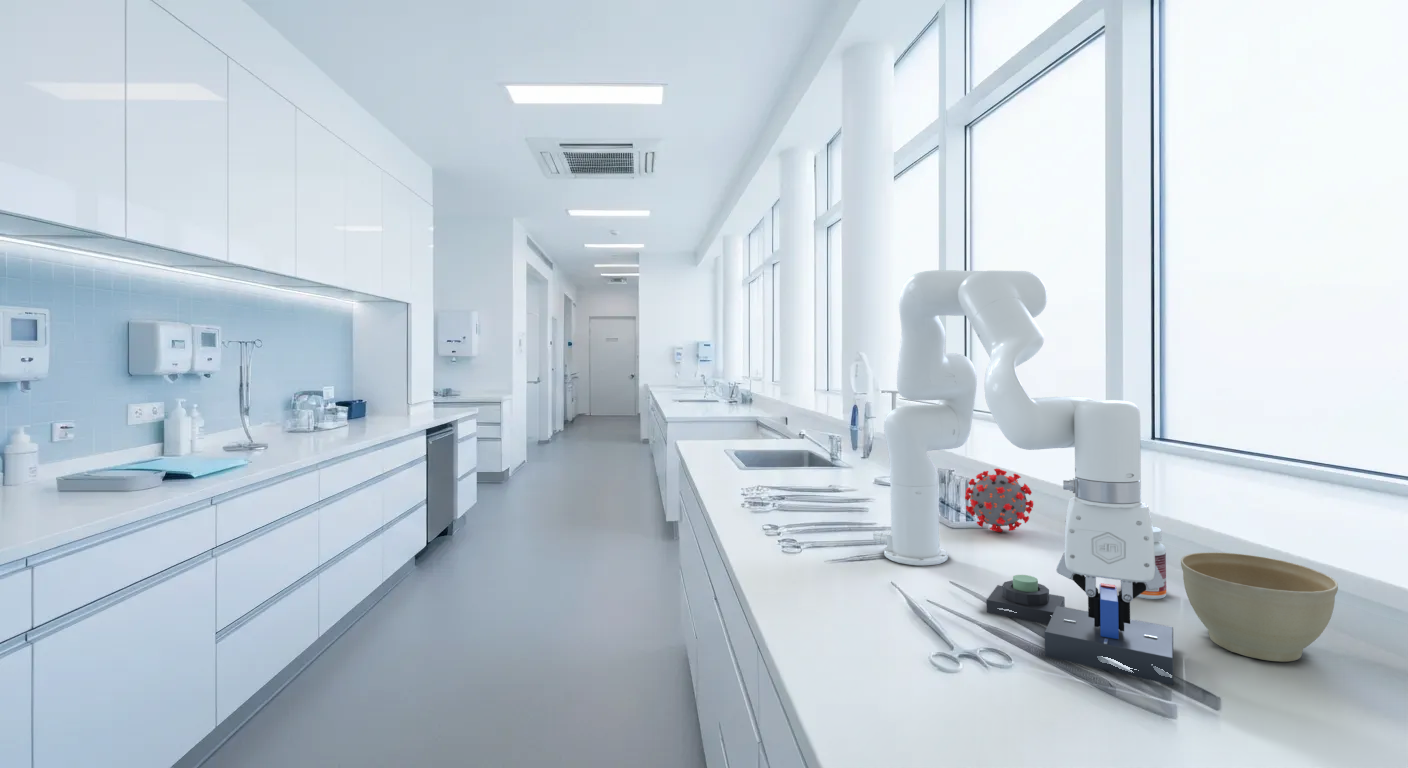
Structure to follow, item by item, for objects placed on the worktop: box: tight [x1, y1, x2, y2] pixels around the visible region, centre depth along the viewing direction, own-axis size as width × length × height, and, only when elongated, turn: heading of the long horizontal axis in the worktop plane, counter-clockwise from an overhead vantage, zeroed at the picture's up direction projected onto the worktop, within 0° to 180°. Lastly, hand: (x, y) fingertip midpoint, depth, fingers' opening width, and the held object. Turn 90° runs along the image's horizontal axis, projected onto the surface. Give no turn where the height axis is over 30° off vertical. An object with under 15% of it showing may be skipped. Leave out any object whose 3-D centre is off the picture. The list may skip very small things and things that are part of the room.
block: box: [985, 579, 1066, 626], centre depth 100 cm, size 10×8×4 cm
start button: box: [1012, 574, 1039, 592], centre depth 100 cm, size 4×4×2 cm
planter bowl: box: [1180, 551, 1339, 663], centre depth 86 cm, size 16×16×11 cm
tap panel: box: [1044, 606, 1174, 686], centre depth 85 cm, size 14×11×4 cm
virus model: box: [964, 468, 1034, 533], centre depth 147 cm, size 14×15×15 cm
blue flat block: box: [1098, 582, 1119, 639], centre depth 85 cm, size 6×2×5 cm, turn 148°
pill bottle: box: [1136, 525, 1167, 600], centre depth 106 cm, size 6×6×11 cm
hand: (1108, 624), depth 85 cm, fingers closed on blue flat block, 2 cm apart
